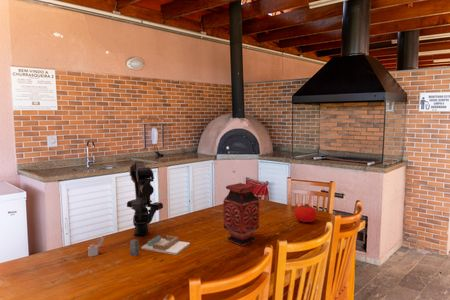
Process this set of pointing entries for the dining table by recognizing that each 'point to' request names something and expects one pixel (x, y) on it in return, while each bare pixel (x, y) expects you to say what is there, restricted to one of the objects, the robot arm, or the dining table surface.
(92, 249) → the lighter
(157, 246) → the seat board
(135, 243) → the grey block
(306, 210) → the tomato
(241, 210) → the vase
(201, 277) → the dining table surface
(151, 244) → the bar
